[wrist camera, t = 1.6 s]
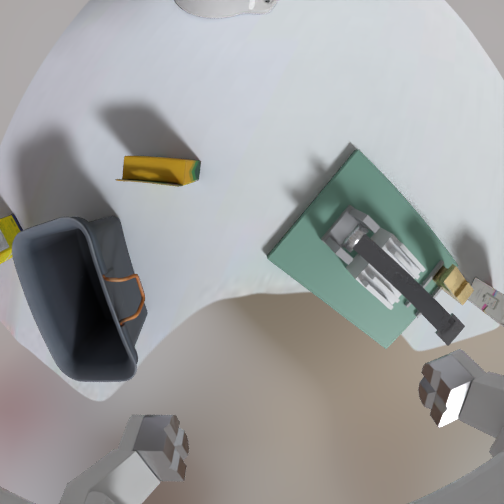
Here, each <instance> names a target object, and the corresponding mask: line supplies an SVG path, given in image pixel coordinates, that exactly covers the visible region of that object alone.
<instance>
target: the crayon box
mask: <svg viewBox="0 0 504 504" xmlns="http://www.w3.org/2000/svg"><path fill="white" fill-rule="evenodd" d="M200 165H201V161H199V160H189V159H178V158H166V157H153V156H125V157H124V165H123V177H122V179H116V180H117V181H132V182H143V183H152V184H161V185H169V186H178V187H179V186H183V185H186V184H189V183H192V182H195V181H198V180H199V173H200Z"/></svg>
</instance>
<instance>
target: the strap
mask: <svg viewBox="0 0 504 504" xmlns="http://www.w3.org/2000/svg"><path fill="white" fill-rule="evenodd" d="M367 233H368V230H367V229H366V228H365V227H364V226H363V225H362V224H361V223H359V224H358V225H357V226H356V227H355V229H354V230H353V231H352V232H351V233H350V235H349V236H348V237H347V238H346V239H345V240H344V242H343V243H342V244H341V245H342V246H343V247H344V248H346V249H347V250H348V251H349V252H350V253H351V252H352V251H353V249H354V250H355V251H356V252H357V253H358V254H359V255H360V256H362V257H363V258H364V259H365V260H366V261H367V262H368V263H369V264H370V265H371V266H372V267H374V268H375V269H376V270H377V271H378V272H379V273H380V274H381V275H382V276H383V277H384V278H385V279H386V280H387V281H388V282H389V283H391V284H392V285H393V286H394V287H395V288H396V289H397V290H398V291H399V292H400V293H401V294H402V295H403V296H404V297H405V298H406V299H407V300H408V301H409V302H410V303H411V304H412V305H413V306H414V307H415V308H416V309H417V310H418V311H419V312H420V313H421V314H422V315H423V316H424V317H425V318H426V319H427V320H428V321H429V322H430V323H431V324H432V325H433V326H434V327H435V328H436V329H437V331H436V332H435V333H436V334H437V335H438V336H439V337H440V338H441V339H442V340H443V341H444V342H445V343H446V344H447V345H449V344H450V343H451V342H452V341H453V340H454V339H455V338H456V336H457V335H458V334H459V333H460V332H461V331H462V329H463V328H464V327H465V326H464V325H463V324H462V323H461V321H460V320H459V319H458V318H457V317H456V316H455V315H454V314H453V313H452V314H451V315H450V314H449V313H448V312H447V311H446V310H445V309H444V308H443V307H442V306H441V305H440V304H439V303H438V302H437V301H436V300H435V299H434V298H433V297H432V296H431V295H430V294H429V293H428V292H427V291H426V290H425V289H424V288H423V287H422V286H421V285H420V284H419V283H418V282H417V281H416V280H415V279H414V278H413V277H412V276H411V275H410V274H409V273H408V272H406V271H405V270H404V269H403V268H402V267H401V266H400V265H399V264H398V263H397V262H396V261H395V260H394V259H393V258H392V257H390V256H389V255H388V254H387V253H386V252H385V251H384V250H383V249H382V248H381V247H379V246H378V245H377V244H376V243H375V242H374V241H373V240H372V239H370V238H369V237H368V236H367V235H366V234H367Z"/></svg>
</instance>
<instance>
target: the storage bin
mask: <svg viewBox="0 0 504 504" xmlns="http://www.w3.org/2000/svg"><path fill="white" fill-rule="evenodd" d="M12 256H13V260H14V264H15V267H16V270H17V274H18V277H19V280H20V283H21V286H22V288H23V291H24V294H25V297H26V299H27V302H28V305H29V307H30V310H31V312H32V315H33V317H34V319H35V322H36V324H37V326H38V328H39V331H40V333H41V335H42V337H43V339H44V341H45V343H46V345H47V347H48V349H49V351H50V353H51V355H52V357H53V359H54V361H55V363H56V364H57V366H58V367H59V368H60V370H61V371H62V372H63V373H64V374H66V375H67V376H68V377H70V378H72V379H74V380H77V381H83V382H121V381H127V380H130V379H131V378H133V377H134V375H135V374H136V371H137V365H136V364H137V362H138V355H137V352H136V349H135V344H136V341H137V339H138V336H139V334H140V331H141V329H142V326H143V324H144V321H145V319H146V316H147V309H146V306H145V304H144V301H145V294H144V291H143V288H142V284H141V281H140V278H139V276H138V275H137V274H134V270H133V267H132V264H131V260H130V257H129V253H128V250H127V246H126V242H125V238H124V234H123V230H122V226H121V222H120V220H119V218H117V217H115V216H113V217H108V218H104V219H99V220H95V221H91V222H87V221H86V220H85V219H83V218H80V217H61V218H58V219H54V220H51V221H48V222H45V223H42V224H39V225H36V226H34V227H31V228H28V229H25V230H23V231H21V232H19V233H18V234H17V235H16V236H15V238H14V240H13V243H12Z"/></svg>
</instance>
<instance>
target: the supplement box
mask: <svg viewBox="0 0 504 504" xmlns="http://www.w3.org/2000/svg"><path fill="white" fill-rule="evenodd" d="M21 231H23V230H22V229H21V227H20V225H19V223H18V221H17V219H16V217H15V215H14V214H13V215H10V216H7V217H4V218H2V219H0V264H1V263H3V262H5V261H6V260H8V259H10V258H12V257H13V256H12V243H13V240H14V238H15V236H16V235H17V234H18V233H19V232H21Z"/></svg>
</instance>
